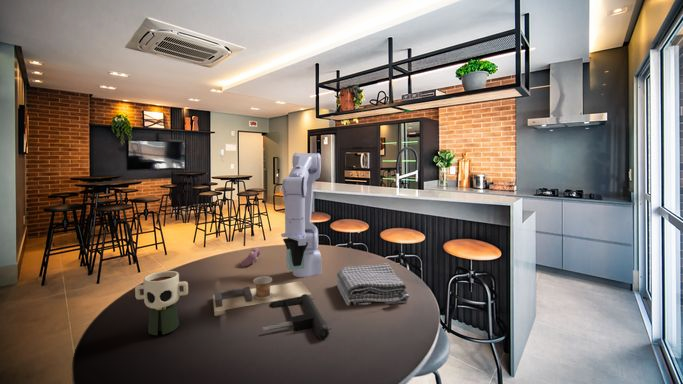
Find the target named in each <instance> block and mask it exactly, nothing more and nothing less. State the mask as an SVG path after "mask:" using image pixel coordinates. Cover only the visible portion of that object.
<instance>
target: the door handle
mask: <svg viewBox="0 0 683 384" xmlns="http://www.w3.org/2000/svg"><path fill="white" fill-rule="evenodd" d="M314 299H316V298H311V295H307V294H303V295H302V296H300V297H295V298H289V299H283V300H278V301H272V302H269V305H268V306H269V308H271V309H277V308H286V310H287V312H288V316H289V318H290V320H289V321H284V322H279V323H276V324H275V323H274V324H270V325H266V326H262V327H261V330H262V332H263V331H269V330H275V331H270V332H266V333H262V334H258V337H259V338H260V337H265V336H268V335H269V336H270V335H275V334H282V333H283V334H284V333H288V332H294V333H297V332H302V331H307V330H313V331H314V334H315V336H316V337H317V338H319V339H320V340H325V339H327V338H328V337H329V335H330V334H329V333H330V332H329V331H330V330H332V328H329V327H328V326H327V324H326V322H325V320H324V319H323V317H322V314H320V312H319V310H318V308H317V306H316V305H315V303H314V301H313V300H314ZM294 306H301V307H302V308H303V310H304V312H305V313H303V314H298V315H295V316H293V315H292V313H291V311H290V308H289V307H294ZM288 327H289V328H288ZM282 328H285V329H282ZM276 329H280V330H276Z"/></svg>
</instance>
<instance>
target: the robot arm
mask: <svg viewBox="0 0 683 384" xmlns="http://www.w3.org/2000/svg"><path fill="white" fill-rule="evenodd" d="M291 160H292V161H291V163H292V168H291V170H290V172H289V173H288V176H286V177H285V178H283V180H282V184H281V189H282V190H281V191H282V196H283V197H282V198H283V199H282V200H283V203H284V233H283V232H282V233H280V236H281V238H283V239H282V241H283V243H284V245H285V247H286V249H290V251H291V255H292V262H293V266H301V263H302V258H303V254H304V269H298V270H292V275H293V276H294V277H297V278H309V277H312V276H317V275H318V276H319V275H322V255H321V251H320V250H319V249H318V247H319V229H318V227H317V226H316V225H314V223H312V211H313V198H314V196H313V195H314V186H315V183H316V180H319V178H320V177H321V169H322V168H321V167H322V156H321V153H319V152H317V153H315V152H314V153H313V152H312V153H307V152H306V153H300V152H299V153H298V152H294V153H293V155H292V159H291Z"/></svg>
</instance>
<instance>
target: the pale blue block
mask: <svg viewBox="0 0 683 384" xmlns="http://www.w3.org/2000/svg"><path fill="white" fill-rule="evenodd" d="M285 251H286V253H285V254H286V269H287V270H288V271H289V272H290V271H293V270H298V269H304V254H303V258H302V263H301V266H293V262H292V255H291V251H290V249H287V248H286V249H285Z"/></svg>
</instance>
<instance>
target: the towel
mask: <svg viewBox="0 0 683 384" xmlns="http://www.w3.org/2000/svg"><path fill="white" fill-rule="evenodd" d="M336 276H337V278H338V280H337V281H336V286H337V289H338V291H339V293H340V295H341V297H342V298H343V301H344V303H345V304H346V305H347V306H348V307H349V306H350V305H351V304H353V305H354V306H356V305H370V304H372V303H384V304H386V305H392V304H393V305H394V304H405V303H407V302H408V300H409V297H410V295H409V294H408V292H407V285H406V284H405V282H404V281H403V280H402V279H400V277H398V275H397V274H396V273H395V271H394V269H393V268H392V267H391V265H390V263H388V262H385V263H379V264H372V265H371V264H370V265H366V264H365V265H355V266H346V267H342V268H341V269H340V270H338V271H337V273H336Z"/></svg>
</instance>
